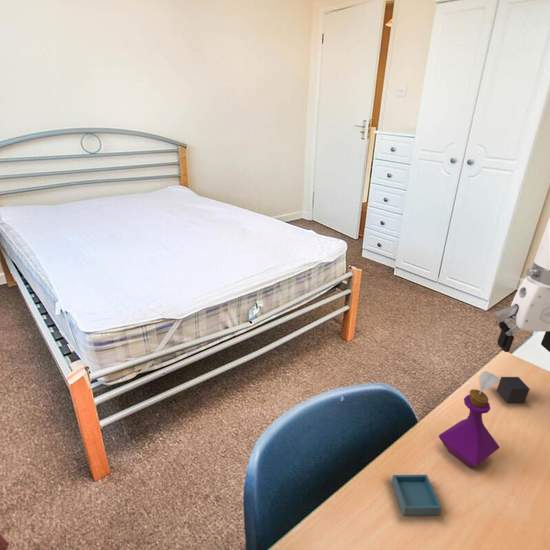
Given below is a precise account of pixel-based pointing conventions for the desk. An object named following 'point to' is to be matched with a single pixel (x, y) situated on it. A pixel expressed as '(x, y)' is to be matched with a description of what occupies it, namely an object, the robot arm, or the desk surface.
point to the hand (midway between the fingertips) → (524, 348)
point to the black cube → (513, 389)
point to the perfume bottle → (472, 428)
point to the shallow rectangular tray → (415, 495)
